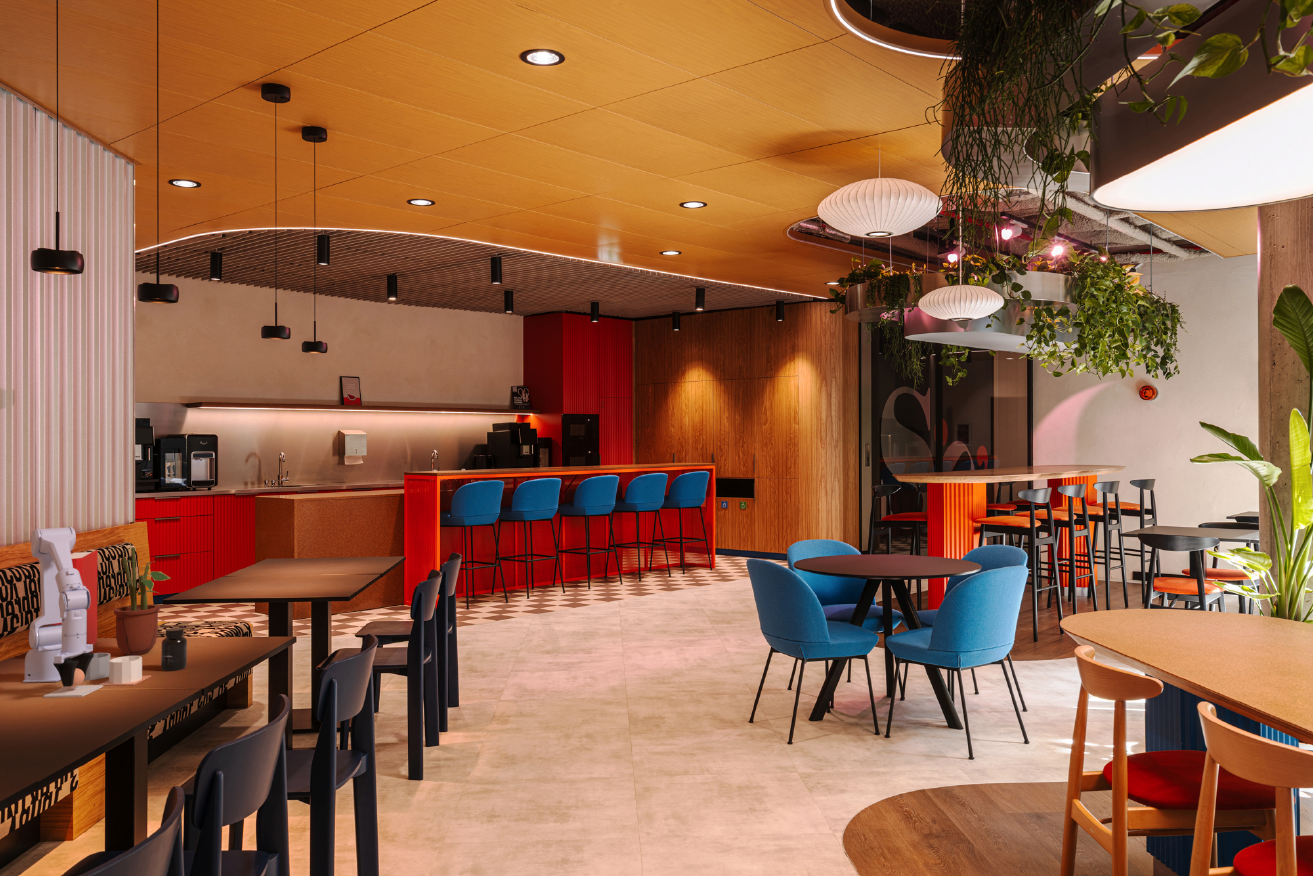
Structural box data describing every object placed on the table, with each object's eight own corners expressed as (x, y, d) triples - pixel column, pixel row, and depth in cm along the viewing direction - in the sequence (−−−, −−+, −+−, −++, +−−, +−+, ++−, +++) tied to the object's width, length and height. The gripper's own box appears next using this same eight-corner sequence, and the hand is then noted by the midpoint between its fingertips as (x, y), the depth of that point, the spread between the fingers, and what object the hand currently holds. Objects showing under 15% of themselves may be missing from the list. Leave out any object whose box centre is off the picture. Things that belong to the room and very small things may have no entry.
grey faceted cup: (71, 680, 253) (72, 659, 253) (87, 673, 261) (88, 653, 261) (100, 679, 254) (100, 659, 254) (115, 672, 262) (115, 652, 262)
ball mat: (43, 697, 236) (43, 695, 236) (65, 687, 246) (65, 685, 246) (82, 696, 236) (82, 694, 236) (102, 686, 246) (103, 685, 246)
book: (69, 643, 303) (70, 550, 303) (96, 641, 306) (97, 549, 306) (50, 660, 278) (51, 559, 278) (80, 658, 281) (81, 558, 281)
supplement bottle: (160, 672, 262) (160, 632, 262) (161, 667, 268) (161, 628, 268) (186, 669, 265) (186, 630, 266) (187, 664, 271) (187, 626, 272)
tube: (99, 685, 247) (99, 663, 247) (117, 677, 257) (117, 655, 257) (133, 685, 248) (134, 662, 248) (151, 676, 257) (151, 655, 258)
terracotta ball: (58, 689, 238) (58, 671, 238) (69, 684, 243) (69, 666, 243) (77, 689, 239) (78, 670, 239) (88, 684, 244) (88, 666, 244)
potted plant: (144, 658, 280) (145, 548, 281) (96, 658, 281) (97, 548, 281) (175, 646, 298) (175, 542, 298) (130, 646, 298) (130, 543, 299)
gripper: (73, 639, 234) (73, 690, 234) (104, 628, 249) (103, 676, 248) (46, 639, 234) (45, 690, 234) (78, 628, 248) (77, 676, 248)
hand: (73, 683), depth 241 cm, fingers closed on terracotta ball, 5 cm apart
